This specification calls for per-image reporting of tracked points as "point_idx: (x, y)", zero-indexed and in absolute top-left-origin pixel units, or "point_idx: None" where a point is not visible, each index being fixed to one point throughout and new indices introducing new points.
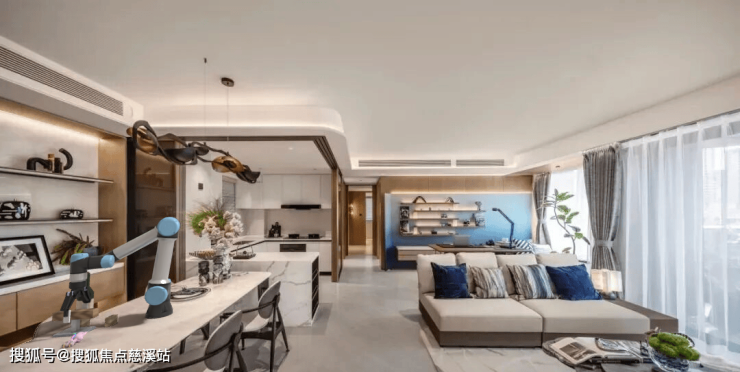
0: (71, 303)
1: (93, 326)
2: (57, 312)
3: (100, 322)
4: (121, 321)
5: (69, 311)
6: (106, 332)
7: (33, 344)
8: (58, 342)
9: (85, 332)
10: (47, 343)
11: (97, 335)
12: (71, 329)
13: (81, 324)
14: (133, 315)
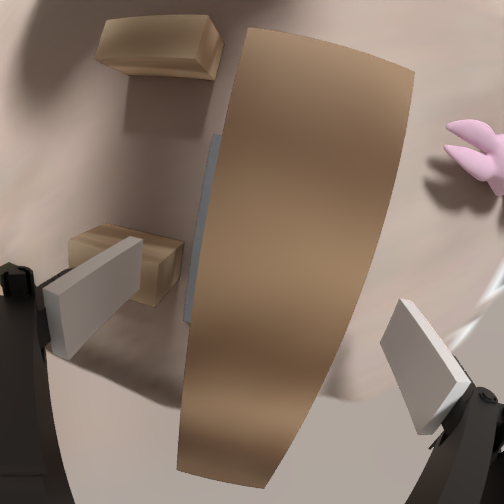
0: (481, 463)
1: (218, 148)
2: (261, 472)
3: (83, 169)
4: None
5: (463, 373)
6: (375, 29)
7: (394, 376)
8: (446, 267)
9: (486, 127)
10: (426, 319)
11: (421, 70)
12: None
13: (173, 252)
14: (37, 38)
